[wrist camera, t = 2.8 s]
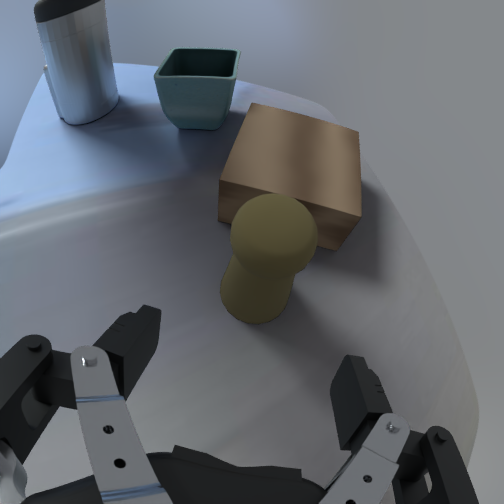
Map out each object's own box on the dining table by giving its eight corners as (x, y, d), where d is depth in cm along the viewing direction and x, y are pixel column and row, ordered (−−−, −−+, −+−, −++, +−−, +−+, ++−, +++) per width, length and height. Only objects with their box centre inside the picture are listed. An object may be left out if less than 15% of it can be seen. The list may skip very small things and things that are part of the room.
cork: (283, 257, 28) (319, 178, 18) (293, 321, 25) (343, 267, 15) (218, 260, 27) (221, 177, 17) (222, 326, 24) (227, 273, 14)
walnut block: (217, 220, 29) (219, 179, 23) (246, 142, 34) (251, 102, 29) (336, 251, 29) (361, 217, 23) (341, 167, 34) (358, 131, 29)
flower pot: (174, 100, 38) (172, 46, 30) (235, 103, 38) (241, 48, 30) (159, 138, 33) (152, 76, 26) (230, 142, 34) (236, 79, 26)
